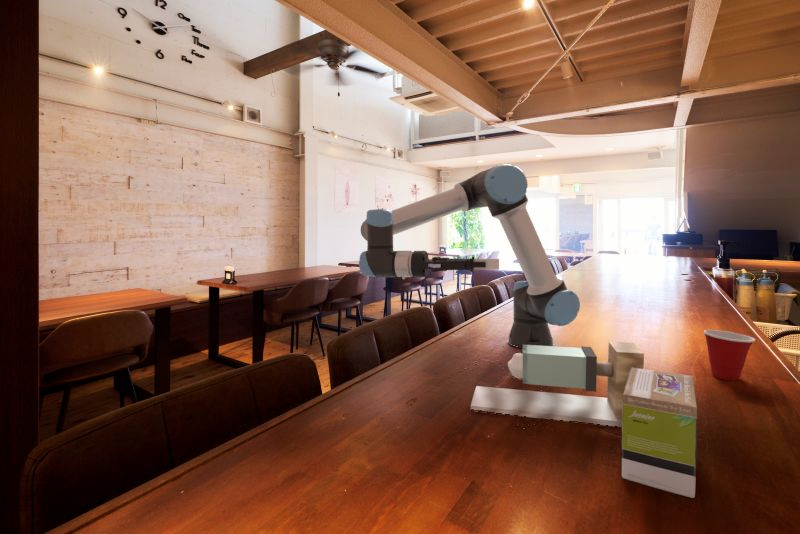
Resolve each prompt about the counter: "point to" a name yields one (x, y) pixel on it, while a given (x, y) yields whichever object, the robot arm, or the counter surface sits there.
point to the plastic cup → (727, 353)
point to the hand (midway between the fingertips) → (498, 264)
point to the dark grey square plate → (590, 368)
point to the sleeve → (554, 366)
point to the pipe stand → (566, 404)
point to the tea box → (660, 431)
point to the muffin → (516, 365)
